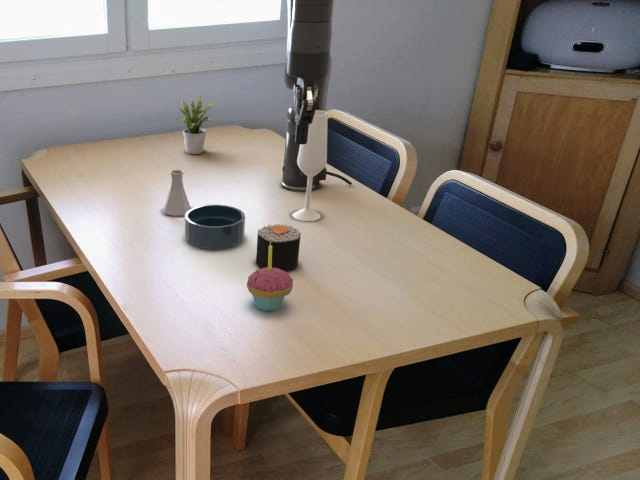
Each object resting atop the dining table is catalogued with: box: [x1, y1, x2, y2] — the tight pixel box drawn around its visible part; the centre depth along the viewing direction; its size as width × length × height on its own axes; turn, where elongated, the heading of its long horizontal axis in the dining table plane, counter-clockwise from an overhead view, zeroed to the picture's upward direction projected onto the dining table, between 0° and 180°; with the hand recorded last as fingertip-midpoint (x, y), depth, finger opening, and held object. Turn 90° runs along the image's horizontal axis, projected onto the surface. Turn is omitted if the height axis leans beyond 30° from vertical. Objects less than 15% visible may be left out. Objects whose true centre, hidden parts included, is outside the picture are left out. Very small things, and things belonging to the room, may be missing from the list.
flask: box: [162, 169, 192, 217], centre depth 165 cm, size 7×7×10 cm
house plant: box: [174, 95, 219, 155], centre depth 202 cm, size 14×14×16 cm
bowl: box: [184, 204, 246, 250], centre depth 152 cm, size 13×13×6 cm
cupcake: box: [246, 241, 294, 312], centre depth 124 cm, size 9×8×12 cm
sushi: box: [255, 223, 302, 273], centre depth 139 cm, size 8×8×8 cm
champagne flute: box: [291, 110, 329, 222], centre depth 156 cm, size 7×7×24 cm
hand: (300, 143), depth 133 cm, fingers closed
